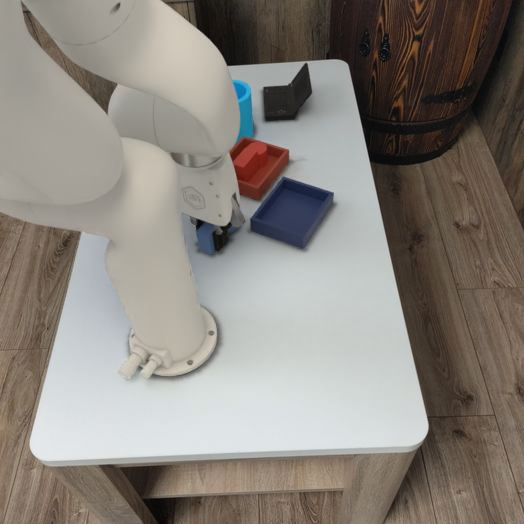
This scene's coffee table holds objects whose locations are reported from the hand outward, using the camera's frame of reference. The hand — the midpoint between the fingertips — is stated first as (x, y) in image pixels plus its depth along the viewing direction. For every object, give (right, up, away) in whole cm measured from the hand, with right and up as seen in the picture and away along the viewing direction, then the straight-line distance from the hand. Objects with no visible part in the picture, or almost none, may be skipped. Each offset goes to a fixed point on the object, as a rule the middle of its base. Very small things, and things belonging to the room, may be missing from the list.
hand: (213, 241), depth 82 cm
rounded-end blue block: (0, +1, +1) cm, 1 cm away
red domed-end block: (+6, +14, +8) cm, 17 cm away
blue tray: (+13, +5, +3) cm, 14 cm away
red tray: (+6, +15, +9) cm, 18 cm away
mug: (+2, +27, +17) cm, 32 cm away
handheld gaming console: (+13, +33, +21) cm, 41 cm away
